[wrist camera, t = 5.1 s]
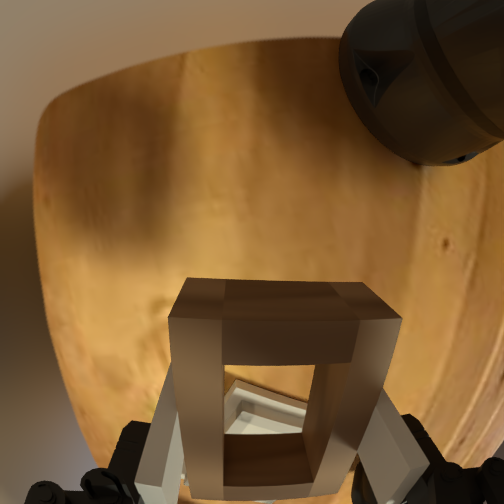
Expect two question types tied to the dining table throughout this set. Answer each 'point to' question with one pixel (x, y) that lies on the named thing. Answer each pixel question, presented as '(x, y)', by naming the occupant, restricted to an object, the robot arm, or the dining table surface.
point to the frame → (277, 354)
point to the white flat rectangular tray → (259, 414)
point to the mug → (363, 488)
